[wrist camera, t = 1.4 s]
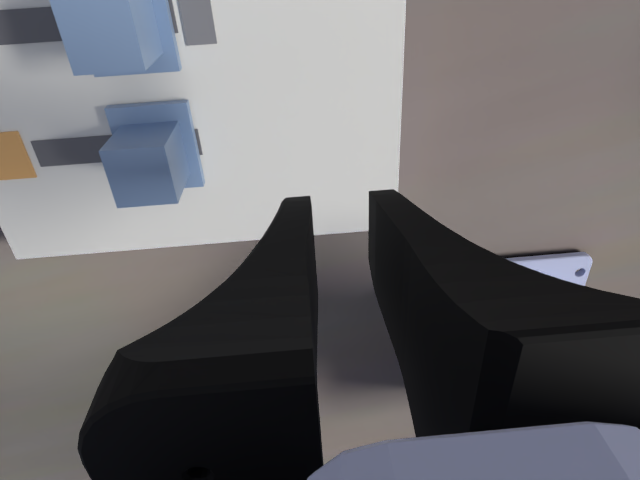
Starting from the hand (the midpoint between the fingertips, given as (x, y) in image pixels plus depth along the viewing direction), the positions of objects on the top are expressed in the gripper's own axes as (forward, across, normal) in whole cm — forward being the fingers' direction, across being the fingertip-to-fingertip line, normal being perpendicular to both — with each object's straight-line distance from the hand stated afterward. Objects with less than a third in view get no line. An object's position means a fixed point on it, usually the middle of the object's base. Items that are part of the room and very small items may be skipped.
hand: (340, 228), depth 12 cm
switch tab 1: (+7, +6, -4) cm, 10 cm away
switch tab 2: (+7, +6, 0) cm, 9 cm away
